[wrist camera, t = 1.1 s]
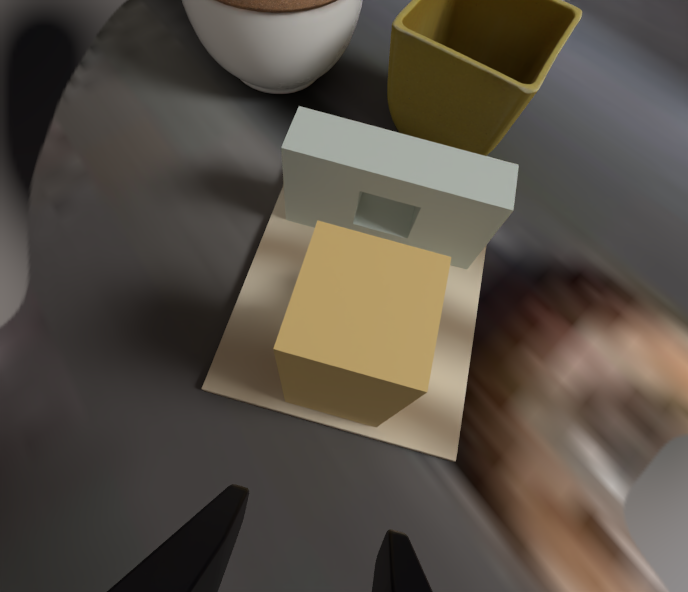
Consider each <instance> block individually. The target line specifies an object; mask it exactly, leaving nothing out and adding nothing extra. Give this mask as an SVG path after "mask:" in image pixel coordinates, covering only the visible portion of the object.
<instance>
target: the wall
mask: <svg viewBox="0 0 688 592" xmlns="http://www.w3.org/2000/svg"><path fill="white" fill-rule="evenodd" d="M281 151H282V167H283V182H284V198H285V213H286V220H288V221H292V222H295V223H299V224H303V225H306V226H310V227H314V228H315V226H316V223H317V220H318V221H322V222H325V223H329V224H333V225H336V226H340V227H344V228H347V229H351V230H355V231H358V232H362V233H366V234H369V235H373V236H377V237H380V238H384V239H388V240H391V241H395V242H399V243H402V244H406V245H409V246H413V247H417V248H420V249H424V250H428V251H431V252H435V253H439V254H442V255H446V256H450V257H451V263H450V265H452V266H456V267H459V268H463V269H468V268H469V266H470V265H471V264H472V263H473V261H474V260H475V259H476V257H477V256H478V255H479V254H480V252H481V251H482V250H483V249H484V247H485V246H486V245H487V243H488V242H489V241H490V240H491V238H492V237H493V236H494V235H495V233H496V232H497V231H498V229H499V228H500V227H501V226H502V224H503V223H504V222H505V221H506V219H507V218H508V217H509V215H510V214H511V213H512V212H513V210H514V201H515V192H516V184H517V175H518V166H519V165H517V164H513V163H510V162H506V161H502V160H499V159H495V158H491V157H487V156H484V155H480V154H476V153H472V152H469V151H465V150H461V149H458V148H454V147H450V146H446V145H443V144H439V143H435V142H431V141H428V140H424V139H420V138H416V137H413V136H409V135H405V134H402V133H398V132H394V131H390V130H387V129H383V128H379V127H375V126H372V125H368V124H364V123H361V122H357V121H353V120H349V119H346V118H342V117H338V116H334V115H331V114H327V113H323V112H319V111H316V110H312V109H308V108H305V107H301V106H299V107H298V109H297V112H296V114H295V116H294V119H293V121H292V124H291V126H290V128H289V131H288V133H287V135H286V138H285V140H284V142H283V145H282V147H281Z"/></svg>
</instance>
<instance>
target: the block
mask: <svg viewBox="0 0 688 592" xmlns="http://www.w3.org/2000/svg"><path fill="white" fill-rule="evenodd" d="M450 263H451V257H450V256H446V255H442V254H439V253H435V252H431V251H428V250H424V249H420V248H417V247H413V246H409V245H406V244H402V243H399V242H395V241H391V240H388V239H384V238H380V237H377V236H373V235H369V234H366V233H362V232H358V231H355V230H351V229H347V228H344V227H340V226H336V225H333V224H329V223H325V222H322V221H318V220H317V223H316V226H315V229H314V232H313V235H312V238H311V241H310V244H309V246H308V249H307V252H306V255H305V258H304V261H303V264H302V267H301V270H300V273H299V275H298V278H297V281H296V284H295V287H294V290H293V293H292V296H291V299H290V302H289V305H288V307H287V310H286V313H285V316H284V319H283V322H282V325H281V328H280V331H279V334H278V336H277V339H276V342H275V345H274V348H273V350H274V355H275V359H276V363H277V368H278V372H279V377H280V381H281V385H282V390H283V394H284V398H285V402H288V403H292V404H295V405H299V406H302V407H306V408H309V409H313V410H316V411H320V412H323V413H327V414H330V415H334V416H337V417H341V418H344V419H348V420H351V421H355V422H359V423H362V424H366V425H369V426H373V427H378V426H379V425H381V424H382V423H384V422H385V421H387V420H388V419H389V418H391V417H392V416H394V415H395V414H397V413H398V412H400V411H401V410H402V409H404V408H405V407H407V406H408V405H410V404H411V403H413V402H414V401H415V400H417V399H418V398H420V397H421V396H423V395H424V394H426V393H427V391H428V386H429V380H430V375H431V369H432V363H433V358H434V352H435V347H436V341H437V335H438V330H439V324H440V319H441V313H442V308H443V302H444V296H445V291H446V285H447V280H448V274H449V268H450Z"/></svg>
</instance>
